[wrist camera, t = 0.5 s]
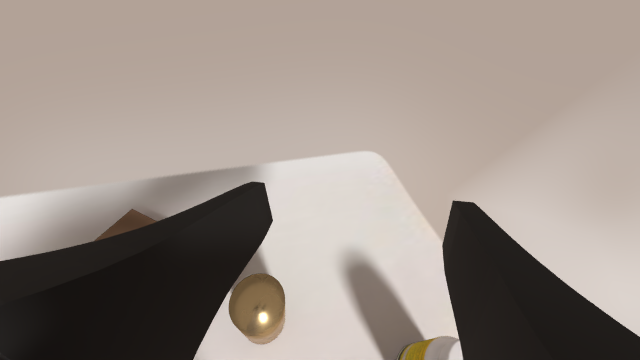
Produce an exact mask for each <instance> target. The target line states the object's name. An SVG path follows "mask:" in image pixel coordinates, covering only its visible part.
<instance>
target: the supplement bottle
mask: <svg viewBox="0 0 640 360" xmlns="http://www.w3.org/2000/svg"><path fill="white" fill-rule="evenodd" d="M397 360H463V356H462V350H461V345H460V340H459V339H456V338H453V337H449V336H441V337H437V338H433V339H429V340H425V341H421V342H417V343H412V344H409V345H407V346H405V347H404V348H403V349H402V350H401V351H400V353H399V355H398V357H397Z"/></svg>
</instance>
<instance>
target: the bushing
mask: <svg viewBox="0 0 640 360" xmlns="http://www.w3.org/2000/svg"><path fill="white" fill-rule="evenodd" d="M229 314H230V318H231V320H232V322H233V323H234V325H235V326H236V327H237V328H238V329H239V330H240V331H241V332H242V333H243V334H244V335H245V336H246V337H247V338H248V339H249V340H250V341H251V342H253V343H255V344H267V343H269V342H271V341H273V340H274V339H275V338H277V336H278V335H279V334H280V333H281V331H282V329H283V326H284V323H285V295H284V290H283V288H282V286H281V284H280V283H279V282H278V280H277V279H275V278H274V277H272V276H270V275H267V274H254V275H251V276H248V277H247V278H245V279H243V280H242V281H241V282H240V283H239V284H238V285H237V286H236V288H235V289H234V291H233V292H232V295H231V297H230V301H229Z"/></svg>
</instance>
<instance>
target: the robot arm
mask: <svg viewBox="0 0 640 360" xmlns="http://www.w3.org/2000/svg"><path fill="white" fill-rule="evenodd" d="M272 221H273V219H272V214H271V210H270V206H269V201H268V197H267V192H266V188H265V184H264V183H261V182H250V183H247V184H244V185H241V186H239V187H237V188H234V189H232V190H230V191H228V192H226V193H223V194H221V195H219V196H217V197H215V198H213V199H210V200H208V201H206V202H204V203H202V204H199V205H197V206H195V207H192V208H190V209H188V210H185V211H183V212H181V213H178V214H176V215H174V216H171V217H169V218H166V219H163V220H161V221H158V222H155V223H152V224H149V225H147V226H144V227H141V228H138V229H135V230H131V231H128V232H125V233H121V234H118V235H114V236H111V237H108V238H104V239H101V240H97V241H93V242H89V243H85V244H81V245H77V246H73V247H69V248H64V249H60V250H56V251H51V252H46V253H41V254H36V255H31V256H26V257H21V258H15V259H10V260H5V261H0V360H193V359H194V356H195V354H196V352H197V350H198V348H199V346H200V344H201V342H202V340H203V338H204V336H205V334H206V332H207V330H208V328H209V326H210V324H211V322H212V320H213V319H214V317H215V315H216V313H217V311H218V310H219V308H220V306H221V304H222V302H223V300H224V299H225V297H226V295H227V294H228V292H229V290H230V289H231V287H232V286H233V284H234V283H235V281H236V280H237V278H238V277H239V275H240V274H241V272H242V271H243V270H244V268H245V267H246V265H247V264H248V262H249V261H250V259H251V258H252V256H253V255H254V253H255V252H256V251H257V249H258V248H259V246H260V245H261V243H262V241H263V240H264V238H265V236H266V234H267V232H268V230H269V228H270V226H271V224H272ZM442 247H443V259H444V270H445V276H446V281H447V286H448V290H449V295H450V299H451V304H452V308H453V313H454V317H455V322H456V326H457V331H458V335H459V340H460V345H461V350H462V356H463V360H640V337H639V336H637V335H636V334H635V333H633V332H632V331H630V330H629V329H627V328H626V327H624V326H623V325H622V324H620V323H619V322H617V321H616V320H614V319H613V318H612V317H610V316H609V315H608V314H606V313H605V312H603V311H602V310H601V309H599V308H598V307H597V306H595V305H594V304H593V303H591V302H590V301H588V300H587V299H586V298H584V297H583V296H582V295H580V294H579V293H577V292H576V291H575V290H574V289H572V288H571V287H570V286H568V285H567V284H566V283H564V282H563V281H562V280H561V279H560V278H558V277H557V276H556V275H555V274H553V273H552V272H551V271H550V270H548V269H547V268H546V267H545V266H544V265H542V264H541V263H540V262H539V261H537V260H536V259H535V258H534V257H533V256H532V255H531V254H529V253H528V252H527V251H526V250H525V249H523V248H522V247H521V246H520V245H519V244H518V243H517V242H516V241H515V240H513V239H512V238H511V237H510V236H509V235H508V234H507V233H506V232H505V231H504V230H503V229H501V228H500V227H499V226H498V225H497V224H496V223H495V222H494V221H493V220H492V219H491V218H490V217H489V216H488V215H487V214H486V213H485V212H483V211H482V210H481V209H480V208H479V207H478V206H477V205H476V204H475V203H473V202H461V201H453V203H452V207H451V211H450V216H449V220H448V224H447V228H446V232H445V237H444V241H443V245H442Z"/></svg>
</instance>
